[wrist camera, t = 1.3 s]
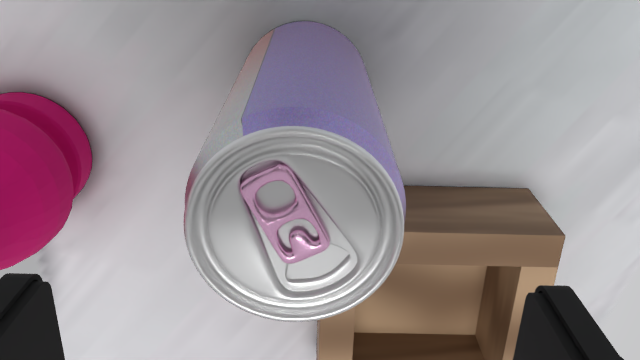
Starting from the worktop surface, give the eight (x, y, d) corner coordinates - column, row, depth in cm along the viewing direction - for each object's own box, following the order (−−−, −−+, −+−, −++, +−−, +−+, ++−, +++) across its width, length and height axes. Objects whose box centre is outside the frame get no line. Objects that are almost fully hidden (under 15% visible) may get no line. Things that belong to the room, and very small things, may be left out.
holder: (322, 183, 30) (323, 230, 26) (528, 188, 31) (565, 235, 26) (316, 347, 35) (316, 411, 30) (496, 351, 35) (522, 415, 31)
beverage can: (334, -4, 26) (352, 78, 13) (384, 108, 29) (446, 279, 15) (221, 53, 28) (128, 184, 14) (279, 156, 30) (247, 358, 16)
